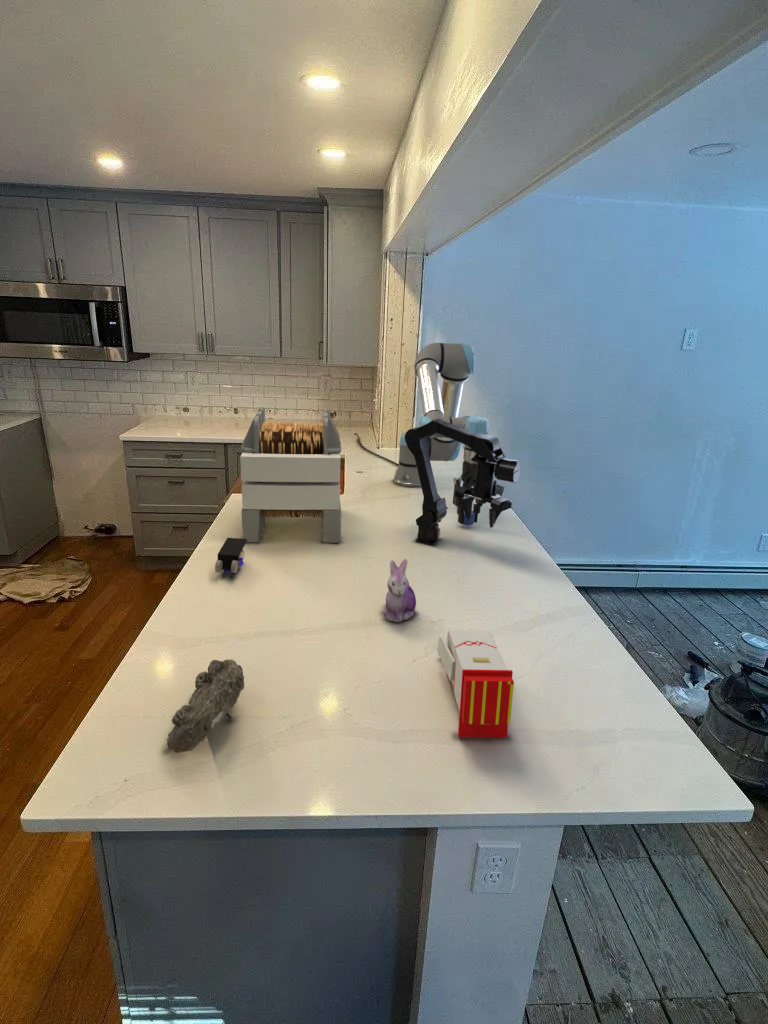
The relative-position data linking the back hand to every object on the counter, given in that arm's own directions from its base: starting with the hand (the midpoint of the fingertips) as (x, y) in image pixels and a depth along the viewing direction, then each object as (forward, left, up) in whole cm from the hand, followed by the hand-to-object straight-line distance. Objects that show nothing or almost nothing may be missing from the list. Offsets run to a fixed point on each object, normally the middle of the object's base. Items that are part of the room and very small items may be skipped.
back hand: (467, 522), depth 209 cm
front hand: (+23, -8, +9) cm, 26 cm away
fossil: (+80, -94, -2) cm, 124 cm away
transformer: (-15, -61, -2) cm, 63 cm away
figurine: (+53, -46, -2) cm, 71 cm away
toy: (+87, -43, -2) cm, 97 cm away
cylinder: (0, 0, 0) cm, 0 cm away
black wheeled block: (+16, -85, -2) cm, 87 cm away
